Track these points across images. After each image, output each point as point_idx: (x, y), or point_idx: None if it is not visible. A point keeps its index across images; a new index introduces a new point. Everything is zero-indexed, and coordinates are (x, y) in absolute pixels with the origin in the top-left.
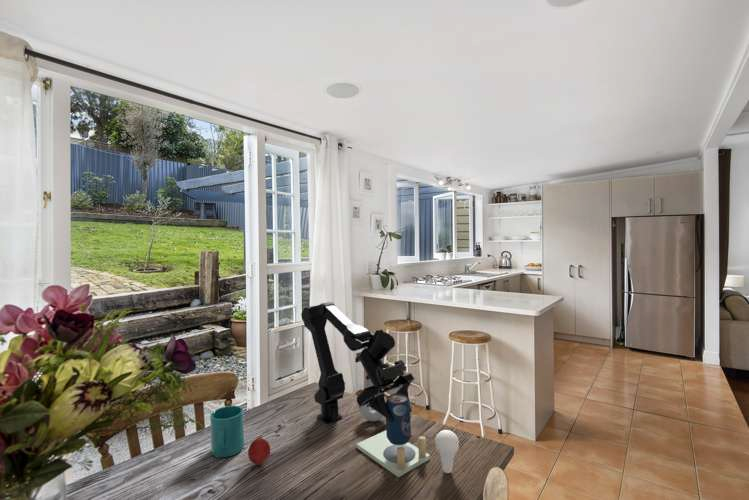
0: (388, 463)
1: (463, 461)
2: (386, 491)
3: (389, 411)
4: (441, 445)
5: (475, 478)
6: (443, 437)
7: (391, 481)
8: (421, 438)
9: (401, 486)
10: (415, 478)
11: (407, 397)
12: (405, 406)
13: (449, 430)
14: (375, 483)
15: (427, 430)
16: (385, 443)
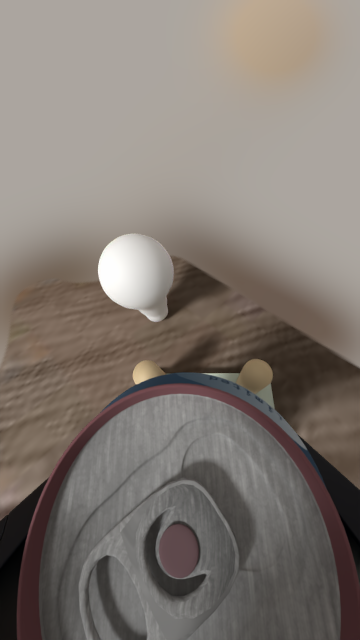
0: None
1: (100, 319)
2: (326, 354)
3: (327, 483)
4: (170, 258)
5: None
6: (153, 246)
7: (292, 375)
8: (147, 374)
9: (280, 345)
10: (231, 345)
11: (4, 533)
12: (186, 377)
13: (108, 252)
14: (340, 399)
15: (14, 501)
16: None
